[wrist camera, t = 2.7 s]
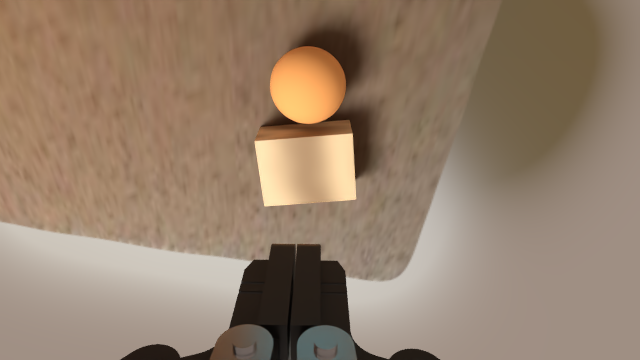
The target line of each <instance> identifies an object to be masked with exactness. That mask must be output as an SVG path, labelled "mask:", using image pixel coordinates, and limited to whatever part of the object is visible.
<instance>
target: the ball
mask: <svg viewBox="0 0 640 360" xmlns="http://www.w3.org/2000/svg"><path fill="white" fill-rule="evenodd" d="M270 90H271V95H272V98H273V101H274V103H275V105H276V106H277V108H278V109H279V110H280V111H281V113H283V114H284V115H285V116H286V117H288V118H289V119H291V120H293V121H296V122H299V123H304V124H313V123H318V122H321V121H323V120H326V119H327V118H329V117H330V116H332V115H333V114H334V113H335V112H336V111H337V109H338V108H339V107H340V105H341V103H342V101H343V99H344V96H345V91H346V80H345V75H344V71H343V69H342V67H341V65H340V64H339V62H338V61H337V60H336V58H335V57H333V56H332V55H331V54H330V53H328V52H327V51H325V50H323V49H320V48H317V47H312V46H303V47H298V48H295V49H293V50H291V51H289V52H287V53H286V54H285V55H283V56H282V57H281V58H280V59H279V61H278V62H277V63H276V65H275V67H274V69H273V71H272V75H271V80H270Z"/></svg>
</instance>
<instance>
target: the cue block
mask: <svg viewBox="0 0 640 360" xmlns="http://www.w3.org/2000/svg"><path fill="white" fill-rule="evenodd" d="M255 147H256V154H257V160H258V167H259V174H260V180H261V187H262V194H263V200H264V206H276V205H289V204H303V203H316V202H329V201H343V200H356V188H355V169H354V150H353V133H352V129H351V124H350V120H340V121H328V122H318V123H313V124H304V123H303V124H290V125H278V126H265V127H260V129H259V132H258V134H257V137H256V139H255Z"/></svg>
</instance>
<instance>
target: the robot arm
mask: <svg viewBox="0 0 640 360" xmlns="http://www.w3.org/2000/svg"><path fill="white" fill-rule="evenodd" d="M121 360H440V359H438V358H437V357H435V356H434V355H432V354H430V353H428V352H426V351H423V350H419V349H405V350H401V351H399V352H397V353H395V354H394V355H392V357H391V358H390V359H386V358H382V357H378V356H375V355H372V354H370V353H368V352H366V351H364V350H363V349H362V348H360V347H359V346H358V345H357V344H356V343H355V341H354V340H353V338H352V336H351V332H350V322H349V310H348V298H347V287H346V275H345V270H344V269H343V268H342V266H341V265H340V264H339V262H338V261H321V245H320V244H297V254H296V246H295V244H272V245H271V251H270V256H269V260H253V261H252V263H251V264H250V265H249V266H248V267H247V268H246V269H245V270H244V274H243V278H242V282H241V285H240V289H239V294H238V297H237V301H236V304H235V308H234V312H233V316H232V320H231V323H230V327H229V329H228V330H227V331H225V332H224V333H223V334H222V335H221V336H220V337H219V338H218V340H217V342H216V344H215V347H213V348H211V349H210V350H207V351H205V352H202V353H199V354H195V355H191V356H186V357H183V358H180V356H179V354H178V352H177V351H176V350H175V349H173V348H172V347H170V346H167V345H160V344H156V345H149V346H145V347H142V348H139V349H137V350H135V351H133V352H132V353H130V354H129V355H127V356H125V357H124V358H122V359H121Z"/></svg>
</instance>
